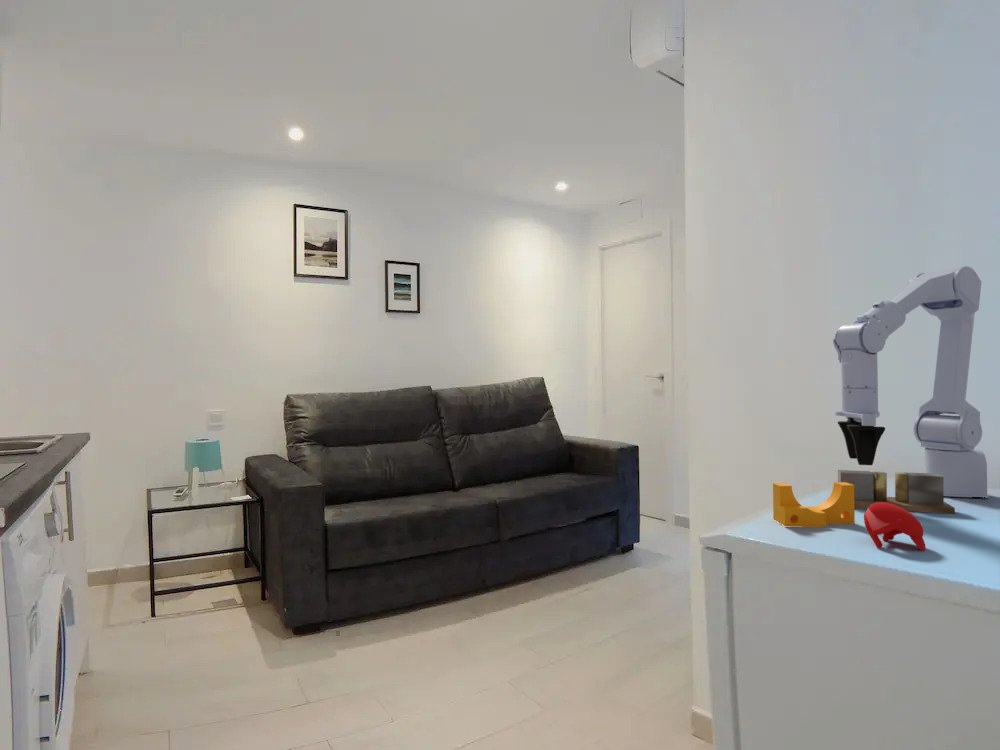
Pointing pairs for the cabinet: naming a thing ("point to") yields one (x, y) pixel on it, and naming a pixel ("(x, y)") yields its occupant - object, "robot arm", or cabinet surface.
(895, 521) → the red animal figurine
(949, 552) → the cabinet surface
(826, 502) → the pipe clamp
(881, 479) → the grey post
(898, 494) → the hinge jig
